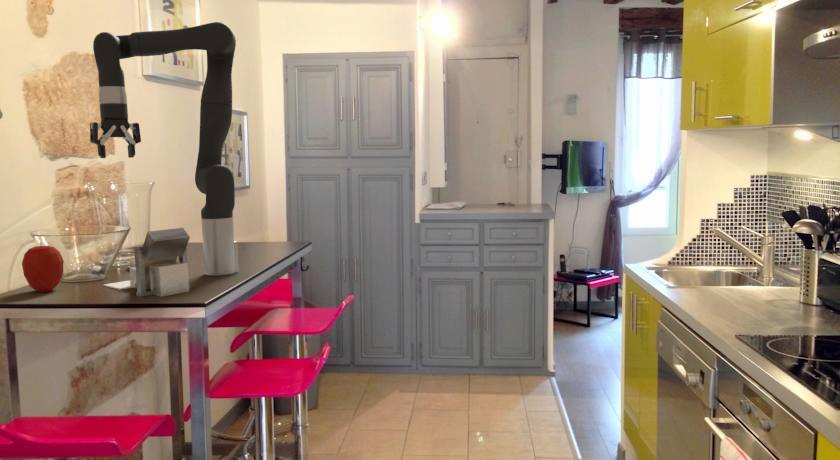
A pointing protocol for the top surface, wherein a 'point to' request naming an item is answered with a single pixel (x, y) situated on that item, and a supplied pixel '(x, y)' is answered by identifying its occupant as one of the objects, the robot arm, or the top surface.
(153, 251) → the trapdoor
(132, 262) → the decorative stone
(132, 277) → the stone block
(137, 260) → the frame
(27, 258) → the apple
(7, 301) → the top surface
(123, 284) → the mat
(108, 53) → the robot arm
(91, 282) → the top surface
